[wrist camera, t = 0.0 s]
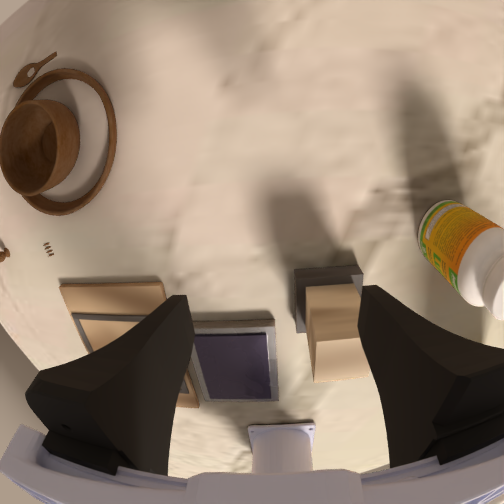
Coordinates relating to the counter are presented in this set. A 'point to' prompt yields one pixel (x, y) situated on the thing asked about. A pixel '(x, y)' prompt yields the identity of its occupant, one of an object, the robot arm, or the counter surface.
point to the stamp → (331, 321)
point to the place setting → (47, 142)
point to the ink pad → (236, 360)
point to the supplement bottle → (466, 253)
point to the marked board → (117, 317)
